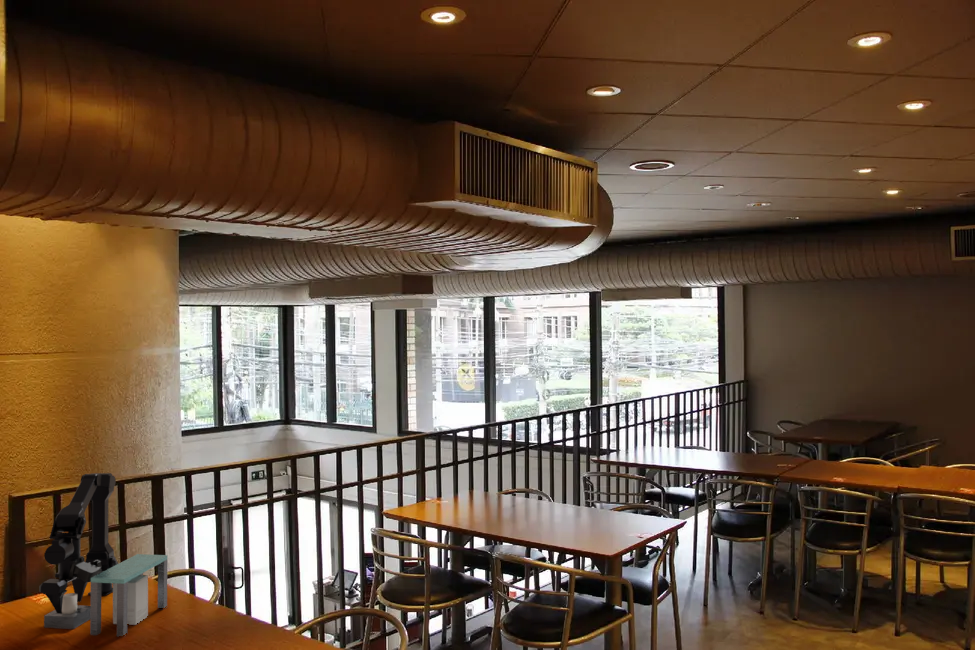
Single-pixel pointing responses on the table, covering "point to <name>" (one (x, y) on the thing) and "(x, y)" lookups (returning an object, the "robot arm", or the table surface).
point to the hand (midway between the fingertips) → (69, 607)
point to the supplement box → (134, 600)
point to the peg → (69, 603)
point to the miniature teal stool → (126, 588)
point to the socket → (67, 618)
